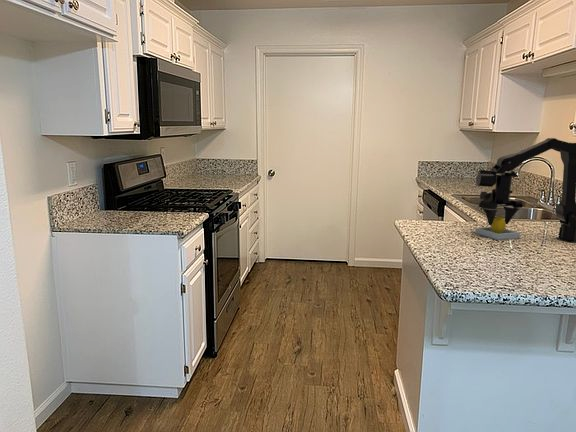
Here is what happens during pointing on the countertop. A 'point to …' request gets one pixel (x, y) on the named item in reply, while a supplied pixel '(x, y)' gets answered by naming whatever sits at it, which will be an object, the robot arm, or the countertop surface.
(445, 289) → the countertop surface
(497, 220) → the lemon
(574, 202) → the robot arm
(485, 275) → the countertop surface
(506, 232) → the dish
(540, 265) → the countertop surface
